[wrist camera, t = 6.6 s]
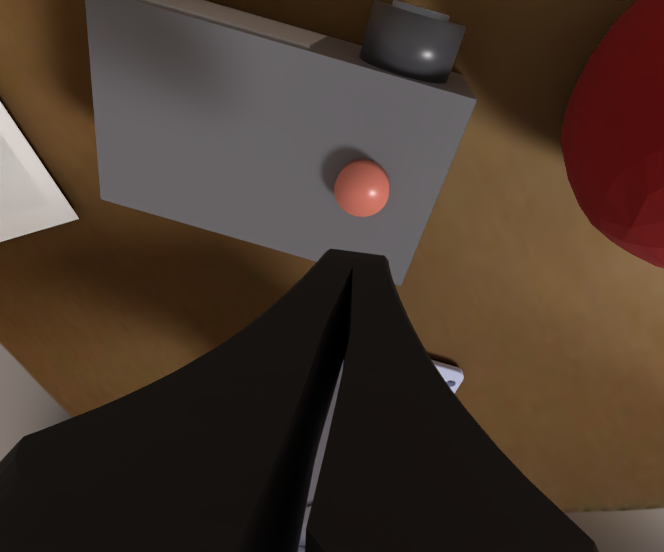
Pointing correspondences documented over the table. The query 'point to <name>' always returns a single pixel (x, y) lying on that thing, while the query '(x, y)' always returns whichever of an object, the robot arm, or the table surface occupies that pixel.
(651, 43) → the apple
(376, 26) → the camera body
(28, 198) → the touchpad
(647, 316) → the table surface
